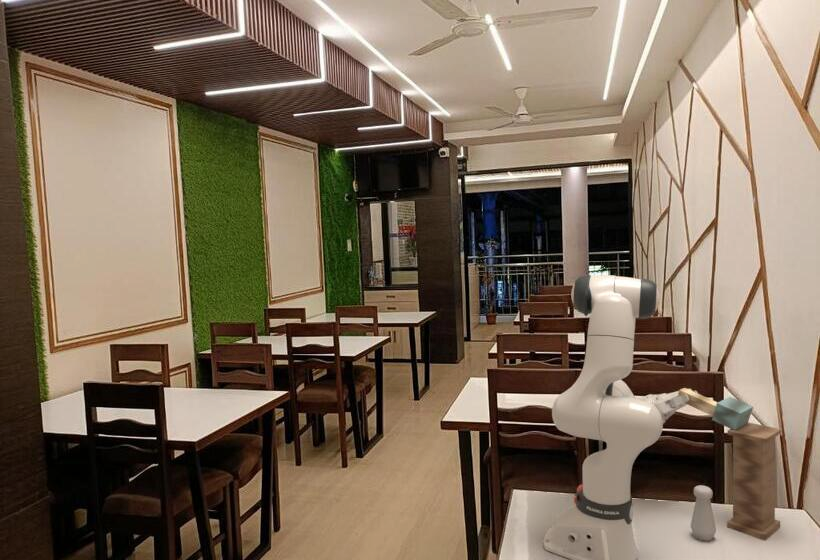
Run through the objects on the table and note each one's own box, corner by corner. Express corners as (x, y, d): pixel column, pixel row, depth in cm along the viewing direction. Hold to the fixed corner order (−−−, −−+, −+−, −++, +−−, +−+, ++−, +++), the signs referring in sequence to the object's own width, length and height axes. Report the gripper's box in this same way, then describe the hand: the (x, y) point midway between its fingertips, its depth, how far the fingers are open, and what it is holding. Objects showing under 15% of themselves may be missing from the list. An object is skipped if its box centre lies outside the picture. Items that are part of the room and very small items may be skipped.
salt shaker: (719, 543, 144) (719, 493, 143) (694, 542, 146) (694, 492, 145) (711, 531, 150) (711, 483, 149) (688, 530, 151) (687, 482, 150)
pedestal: (727, 527, 152) (727, 430, 150) (743, 514, 158) (743, 421, 156) (765, 540, 145) (766, 439, 143) (780, 526, 151) (781, 429, 149)
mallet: (672, 401, 162) (676, 385, 160) (685, 395, 167) (690, 379, 165) (735, 430, 149) (740, 413, 148) (747, 423, 154) (753, 406, 153)
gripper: (627, 408, 166) (668, 392, 156) (663, 393, 178) (703, 377, 168) (638, 429, 164) (680, 414, 154) (674, 412, 176) (714, 398, 166)
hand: (692, 395), depth 161 cm, fingers closed on mallet, 3 cm apart
